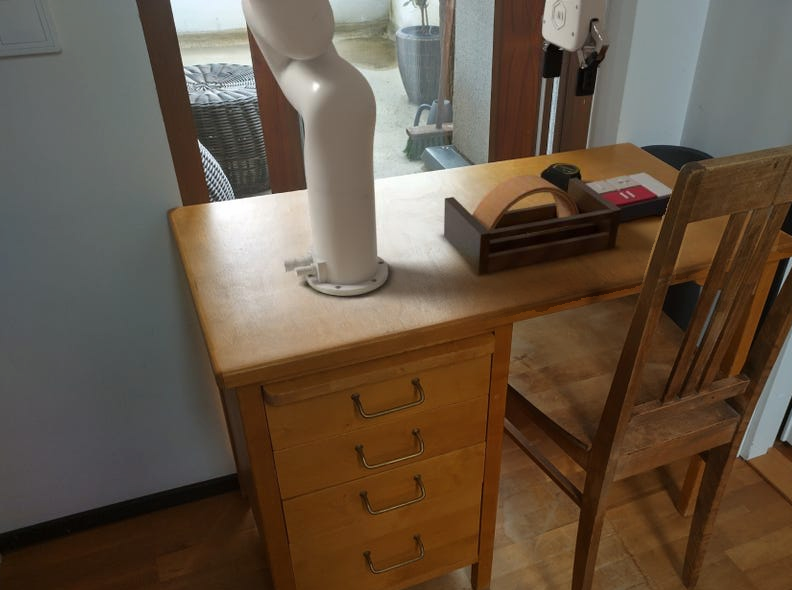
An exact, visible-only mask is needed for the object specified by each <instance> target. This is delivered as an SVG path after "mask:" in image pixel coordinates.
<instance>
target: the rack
mask: <svg viewBox="0 0 792 590" xmlns="http://www.w3.org/2000/svg"><path fill="white" fill-rule="evenodd" d="M586 184H587V183H586V182H583V181H582V179H581V180H579V179H578V178H572V179H569V185H568V192H567V191H566V193H567V194H568V195H569V196H570V197H571V198H572V199H573V201H574V202H575V204H576V206H577V209H578V212H579V215H573V216H567V217H562V218H557V208H556V203H555V202H554V203H546V204H540V205H534V206H528V207H523V208H517V209H511V210H510V209H509V210H508V211H507V212H506V213H505V214H504V215H503V216H502V218H501V219H500V220H499V222H498V223H497V225H496V227H495V228H494V229H493V230H487V229H486V228H485V227H484V226H483V225H481V224H480V223H479V222H478V221H477V220H476V219H475V218H474V217H473V216H472V215H473V214H471V213H470V212H469V210H467V209H466V208H465V206H463V205H462V204H461V203H460V202H459V201H458V200H457V199H456V198H455V197H454V196H450V197H445V198H444V211H443V212H444V213H443V214H444V217H443V220H444V221H443V222H444V223H443V237H444V238H445V239H446V240H447V242H449V244H450V245H451V246H452V247H453V248H454V249H455V250H456V251H457V253H459V255H460V256H461V257H462V258H463V259H464V261H466V262H467V264H468V265H469V266H470V267H471V268H473V270H474V271H475V272H476V274H478V275H484V274H489V273H494V272H499V271H504V270H508V269H513V268H519V267H524V266H530V265H535V264H539V263H544V262H545V263H546V262H548V261H549V262H550V261H554V260H561V259H564V258H570V257H574V256H580V255H584V254H590V253H595V252H599V251H600V252H601V251H604V250H610V249H615V248H616V243H617V237H618V232H619V231H618V230H619V226H620V222H619V221H620V216H621V209H620V208H619V207H617V206H616V205H614V204H613V203H612V202H610V201H609V200H607V199H606V198H605V197H603V196H602V195H600V194H599V193H597V192H596V191H595V190H593V189H592V188H590V187H589V186H588V185H586ZM578 224H579V225H578ZM573 225H574V226H573ZM567 226H568V227H567Z"/></svg>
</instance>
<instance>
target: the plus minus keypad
mask: <svg viewBox="0 0 792 590" xmlns="http://www.w3.org/2000/svg"><path fill="white" fill-rule="evenodd" d="M585 184H586V185H588V186H589V187H590V188H592V189H593V190H595V191H596V192H597V193H599V194H600V195H602V196H603V197H605V198H606V199H607V200H609V201H610V202H612V203H613V204H614V205H616V206H617V207H619V208H620V209H621V216H620V221H619V223H623V222H627V221H632V220H636V219H640V218H645V217H649V216H653V215H656V216H659V217H661V216H666V215H665V212H666V208H667V204H668V202H669V199H670V196H671V193H672V190H673V189H671V188H670V187H669V186H668V185H665V184H664V183H662V182H661V181H659V180H657V179H656V178H654V177H652V176H651V175H649V174H648V173H646V172H640V173H635V174H630V175H621V176H615V177H611V178H607V179H606V180H604V179H603V180H596V181H593V182H587V183H585Z"/></svg>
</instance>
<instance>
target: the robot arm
mask: <svg viewBox="0 0 792 590" xmlns="http://www.w3.org/2000/svg"><path fill="white" fill-rule="evenodd" d="M607 1H608V0H545V4H544V11H543V14H542V15H541V17H540V19H541V24H542V25H541V26H542V27H541V36H542V39H543V43H542V49H543V59H542V66H541V77H542V78H543V79H555V78H560V77H561V75H562V68H563V58H564V51H565V50H566V51H567V52H570V53H572V52H576V54H577V57H578V61H579V66H578V67H577V68H576V73H575V74H576V76H575V83H574V90H573V95H574V96H575V97H587V96H593V95H594V94H595V90H596V84H597V75H598V69H600V68H601V65H602V62H603V61H604V60H605V58H606V54H607V52H608V49H609V47H610V45H611V39H610V38H609V36H608V35H607V33H606V31H605V23H606V14H607V3H608V2H607ZM241 8H242V13H243V16H244V20H245V22H246V24H247V26H248V28H249V30H250V33H251V35H252V36H253V38H254V40H255V42H256V44H257V47H258V48H259V49H260V52H261V54H262V56H263V57H264V60H265V62H266V64H267V65H268V67H269V69H270V71H271V73H272V75H273V77H274V79H275V80H276V82H277V84H278V86H279V88H280V90H281V92H282V93H283V95H284V97H285V98H286V100H287V101H288V102H289V104H290V105H291V106H292V107H293V108H294V110H296V111H297V112H298V115H299V116H301V118H302V121H303V125H304V126H303V127H304V145H303V160H304V161H303V163H304V174H305V181H306V192H307V200H308V210H309V220H310V230H311V240H312V245H309V246H307V250H308V253H303V254H302V256H299V257H290V258H283V259H282V260H281V263H282V267H283V271H284V273H289V272H294V274H295V276H296V278H299V277H300V278H301V277H305V280H306V282H307V284H308V285H309V286H310V287H311V288H312V289H314V290H316V291H318V292H321V293H323V294H326V295H331V296H339V297H340V296H343V297H344V296H345V297H348V296H358V295H363V294H366V293H370V292H371V291H374V290H377V289H378V288H379V287H381V286H383V284H384V283H385V282H386V281H387V279H388V277H389V266H388V264H387V262H386V261H385V260H384V259H383V258H382V257H380V256H379V255H378V237H377V216H376V215H377V213H376V192H375V170H374V169H375V168H374V166H375V165H374V142H375V132H376V124H377V103H376V97H375V94H374V93H375V92H374V91H373V88H372V86H371V84H370V83H369V81H368V80H367V78H366V77H365V76H364V74H363V73H362V72H361V71H360V70H359V69H358V68H356V67H355V66H354V65H353V64H352V63H350V62H349V61H348V60H346V59H345V58H343V57H342V56H340V54H339V53H338V50H337V49H336V46H335V44H334V42H333V39H334V35H335V28H336V25H335V24H336V23H335V22H336V21H335V16H334V15H335V14H334V10H333V7H332V5H331V2H330V0H241ZM587 53H589V55H588V56H587Z"/></svg>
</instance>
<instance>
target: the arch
mask: <svg viewBox="0 0 792 590" xmlns="http://www.w3.org/2000/svg"><path fill="white" fill-rule="evenodd" d="M540 193H549V194H551V195H552V198H553V200H554V203H556V208H557V218H562V217H567V216H573V215H579V212H578V209H577V206H576V204H575V202H574V201H573V199H572V198H571V197H570V196H569V195H568V194H567V191H564V190H561V189H559V188H558V187H556V186H555V185H553V184H551V183H550V182H548V181H546V180H545V179H543V178H541V176H538V175H534V174H522V175H516V176H513V177H510V178H507V179H505V180H504V181H502V182H500V183H498V184H497V185H495V187H493V188H492V189H490V191H489V192H487V194H486V195H485V196H484V197H483V198H482V199H481V200H480V202H479V203H478V204H477V206H476V207H475V210H474V211H473V213H472V214H471V215H472V216H473V217H474V218H475V219H476V220H477V221H478V222H479V223H480V224H481V225H483V226H484V227H485V228H486V229H487V230H493V229H494V228H495V227H496V225H497V223H498V222H499V220H500V219H501V218H502V216H503V215H504V214H505V213H506V212H507V211H510V209H511V208H512V207H513V206H515V205H516V204H517V203H518V202H520V201H522V200H524V199H525V198H527V197H530V196H533V195H535V194H540ZM578 225H579V224H578ZM573 226H574V225H573ZM567 227H568V226H567Z"/></svg>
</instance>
